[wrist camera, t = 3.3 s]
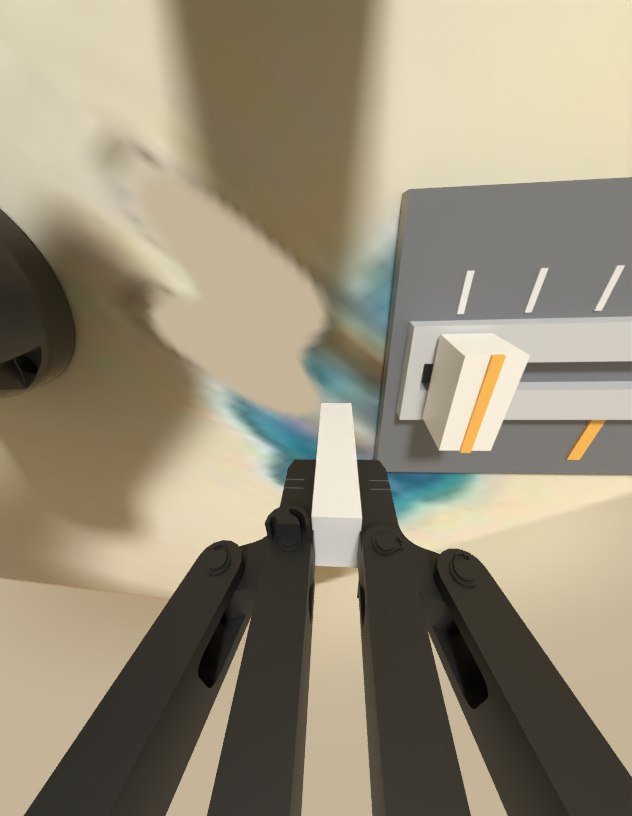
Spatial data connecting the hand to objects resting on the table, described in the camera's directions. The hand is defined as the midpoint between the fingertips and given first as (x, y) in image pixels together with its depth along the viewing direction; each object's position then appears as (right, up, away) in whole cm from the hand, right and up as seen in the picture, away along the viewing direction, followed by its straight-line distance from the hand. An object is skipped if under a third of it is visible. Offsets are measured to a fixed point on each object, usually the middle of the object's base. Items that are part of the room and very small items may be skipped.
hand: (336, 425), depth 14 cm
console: (+16, +4, +5) cm, 17 cm away
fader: (+8, +3, +4) cm, 10 cm away
